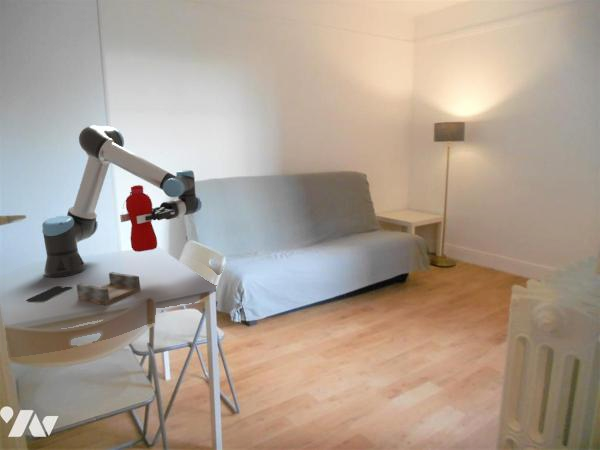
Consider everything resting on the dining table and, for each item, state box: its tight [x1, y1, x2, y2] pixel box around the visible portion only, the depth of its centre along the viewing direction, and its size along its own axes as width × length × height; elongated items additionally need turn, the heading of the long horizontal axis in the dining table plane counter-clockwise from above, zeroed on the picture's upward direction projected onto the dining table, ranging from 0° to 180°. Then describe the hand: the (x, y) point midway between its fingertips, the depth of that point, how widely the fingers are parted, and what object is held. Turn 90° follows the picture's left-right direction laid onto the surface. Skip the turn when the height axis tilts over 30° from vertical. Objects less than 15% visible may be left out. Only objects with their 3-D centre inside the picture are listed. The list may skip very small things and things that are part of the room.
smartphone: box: [25, 285, 73, 303], centre depth 151 cm, size 8×1×15 cm
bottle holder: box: [76, 271, 141, 306], centre depth 148 cm, size 14×15×6 cm
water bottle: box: [122, 184, 158, 253], centre depth 158 cm, size 9×11×25 cm
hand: (129, 219), depth 154 cm, fingers closed on water bottle, 8 cm apart
